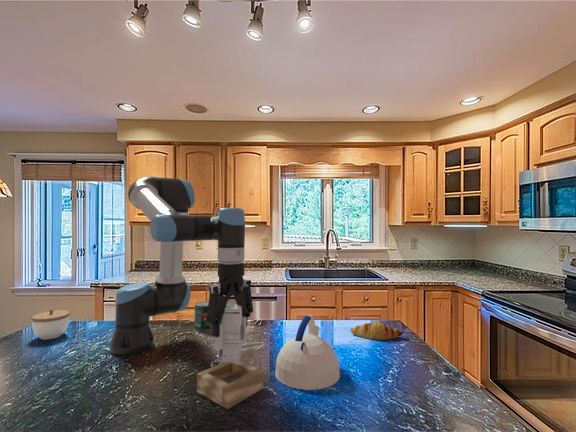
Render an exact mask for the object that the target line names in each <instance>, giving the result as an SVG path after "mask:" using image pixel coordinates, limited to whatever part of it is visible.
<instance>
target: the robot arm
mask: <svg viewBox="0 0 576 432" xmlns="http://www.w3.org/2000/svg"><path fill="white" fill-rule="evenodd" d="M194 190H195V189H194V187H193V185H192V183H191V182H190V181H188V180H187V179H181V178H171V177H170V178H169V177H161V176H160V177H157V176H145V177H141V178H139V179H137V180H135V181H134V182H132V184H131V185H130V186H129V188H128V192H127V197H128V200H129V202H130V203H131V205H132V206H133V207H135V208H136V209H138V210H140V211H141V212H142V213H143V214H144V216H145V217H146V218H147V219H148V220H149V221H150V226H149V227H150V228H149V229H150V235H151V238H152V239H153V241H155V242H157V243H158V242H160V248H159V249H160V251H159V254H160V256H159V275H158V276H157V277H156V278H155V279H154V284H153V285H151V284H150V282H148V281H147V282H145V281H143V282H136V283H130V284H126V285H124V286H121V287H120V288H118V289H117V290H116V293H115V302H114V304H115V319H114V320H115V325H114V326H115V328H114V331H113V334H112V337H111V340H110V343H109V353H111V354H113V355H117V356H128V355H135V354H136V355H137V354H140V353H143V352H146V351H148V350H150V349H152V348H154V345H155V337H154V334H153V331H152V327H151V323H150V320H151V319H150V318H151V317H155V316H161V315H166V314H173V313H174V314H175V313H177V312H180V311H181V312H182V311H184V310H185V309H186V308H187V307H188V306H189V303H190V301H191V296H192V295H191V294H192V293H191V286H190V284H189V283H188V282H187V281H186V280H187V279H186V278H185V277H184V276H183V259H184V258H183V257H184V255H183V254H184V242H188V241H189V242H190V241H191V242H195V241H217V262H218V264H217V276H218V282H217V284H215V285H209V287H208V292H209V296H208V297H209V298H208V302H209V304H208V311H207V318H206V322H207V323H210V324H212V325H213V328H212V336H213V337H214V348H216V349H220V350H221V349H223V324H221V321H222V317H223V314H224V311H225V308H226V305H228V301H229V300H230V299H231V297H232V296H233V297H234V300H235V302H236V303H235V304H237V305H241V306H242V339H241V341H246V340H247V327H248V322H249V321H248V318H250V317H251V314H252V313H253V312H254V308H253V298H252V290H251V289H252V288H251V286H252V280H251V279H247V278H246V279H244V276H245V269H246V267H245V266H246V265H245V263H244V261H245V258H246V257H245V251H246V250H245V241H246V234H245V233H246V220H245V219H246V217H245V211H244V209H243V208H239V207H221V208H219V209H218V212H217V215H196V214H195V215H191V214H189V211H190V209H191V208H193V207H194V204H195V199H196V198H195V197H196V196H195V195H196V194H195V191H194Z"/></svg>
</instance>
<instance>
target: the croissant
mask: <svg viewBox="0 0 576 432" xmlns="http://www.w3.org/2000/svg"><path fill="white" fill-rule="evenodd" d="M349 330H350V332H351V334H353V335H356V336H358V337H360V338H363V339H369V340H377V341H379V340H380V341H383V340H391V339H392V340H394V339H397V338H400V337H402V336H403V335H404V331H403V330H400V329H399V330H398V329H397V328H395V327H391V326H390V325H389V324H386V323H384V322H383V321H381V320H375V321H372V322H367V323H366V322H365V323H363V324H361V325H356V326H354V327H351V328H350V329H349Z"/></svg>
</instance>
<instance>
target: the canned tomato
mask: <svg viewBox="0 0 576 432" xmlns="http://www.w3.org/2000/svg"><path fill="white" fill-rule="evenodd" d="M208 304H209V301H199V302H196V303H194V330H195V331H196V332H208V331H212V330H213V325H212V324H210V323H207V322H206V318H207V311H208Z"/></svg>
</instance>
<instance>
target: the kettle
mask: <svg viewBox="0 0 576 432" xmlns="http://www.w3.org/2000/svg"><path fill="white" fill-rule="evenodd" d="M306 328H307V329H306ZM306 330H307V333H305V332H306ZM319 331H320V327H319V326H318V325H316V322H315V318H314V316H313V315H310V314H309V315H305V316H304V317H303V318H302V319H301V322H300V324H299V326H298V328H297V332H296V335H295V336H294V337H292V338H291V339H289V340H288V341H287V342H285V344H284V345H283V346H282V347H281V349H280V350H279V352H278V355H277V356H276V357H277V358H276V362H275V375H274V376H275V377H276V378H277V380H278V381H279V382H280V383H281V384H282V385H284V384H285V386H286V385H287V387H288V388H292V389H295V388H296V390H301V389H302V390H303V391H319V390H323V389H327V388H330V387H331V386H333V385H335V384H336V383H337V382H339V380H340V377H341V376H340V375H341V373H340V364H339V363H340V362H339V359H338V356H337V354H336V352H335V350H334V349H333V347H332V346H331V344H329V343H328V342H327V341H326V340H325V339H323V338H322V337H320V336H319V333H320V332H319ZM302 390H301V391H302Z"/></svg>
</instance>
